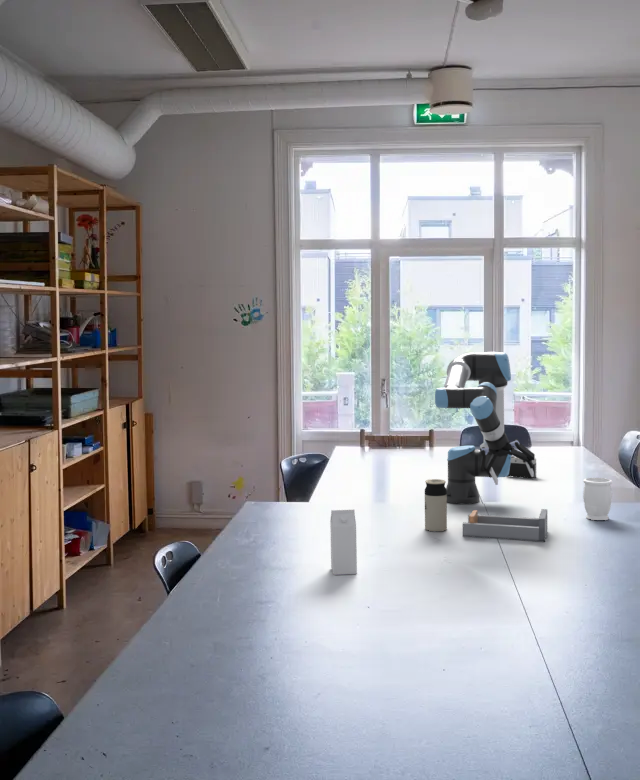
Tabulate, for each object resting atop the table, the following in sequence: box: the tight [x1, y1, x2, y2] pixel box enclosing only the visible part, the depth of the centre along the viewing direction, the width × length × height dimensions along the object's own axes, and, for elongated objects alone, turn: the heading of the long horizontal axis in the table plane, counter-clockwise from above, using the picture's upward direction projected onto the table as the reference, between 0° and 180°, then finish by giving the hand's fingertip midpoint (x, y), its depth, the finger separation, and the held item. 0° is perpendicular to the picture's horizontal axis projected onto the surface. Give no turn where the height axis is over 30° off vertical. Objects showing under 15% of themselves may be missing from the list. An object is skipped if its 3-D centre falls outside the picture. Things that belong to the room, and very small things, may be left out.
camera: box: [508, 455, 537, 479], centre depth 389 cm, size 14×8×10 cm, turn 58°
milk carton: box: [329, 509, 358, 576], centre depth 238 cm, size 7×7×19 cm
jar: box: [582, 477, 613, 521], centre depth 299 cm, size 11×10×15 cm
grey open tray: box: [462, 508, 548, 543], centre depth 279 cm, size 15×28×8 cm, turn 71°
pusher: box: [469, 509, 479, 523], centre depth 283 cm, size 10×2×6 cm, turn 161°
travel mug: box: [424, 478, 448, 532], centre depth 287 cm, size 8×8×18 cm
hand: (514, 478), depth 290 cm, fingers open, 13 cm apart
